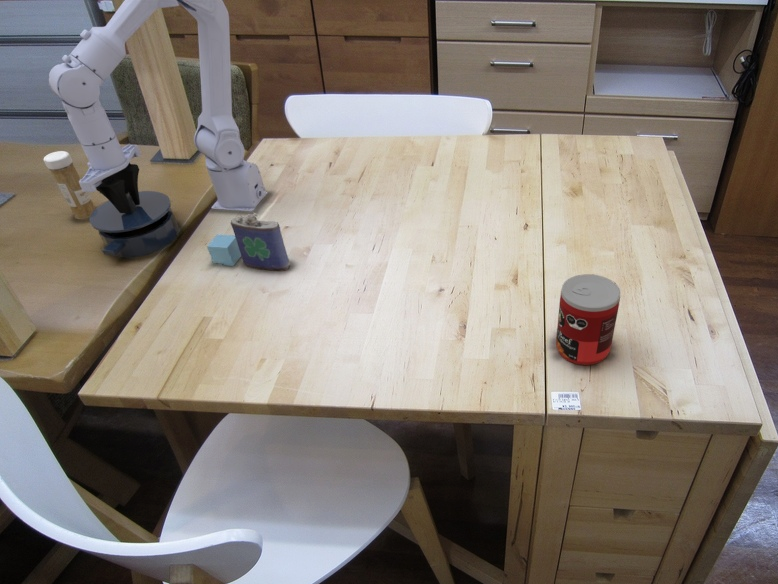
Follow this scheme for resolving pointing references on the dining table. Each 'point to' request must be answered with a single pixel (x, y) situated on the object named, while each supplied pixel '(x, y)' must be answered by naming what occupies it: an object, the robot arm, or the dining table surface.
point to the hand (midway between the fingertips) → (130, 208)
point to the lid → (131, 213)
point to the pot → (142, 239)
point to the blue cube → (224, 250)
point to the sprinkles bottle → (69, 183)
